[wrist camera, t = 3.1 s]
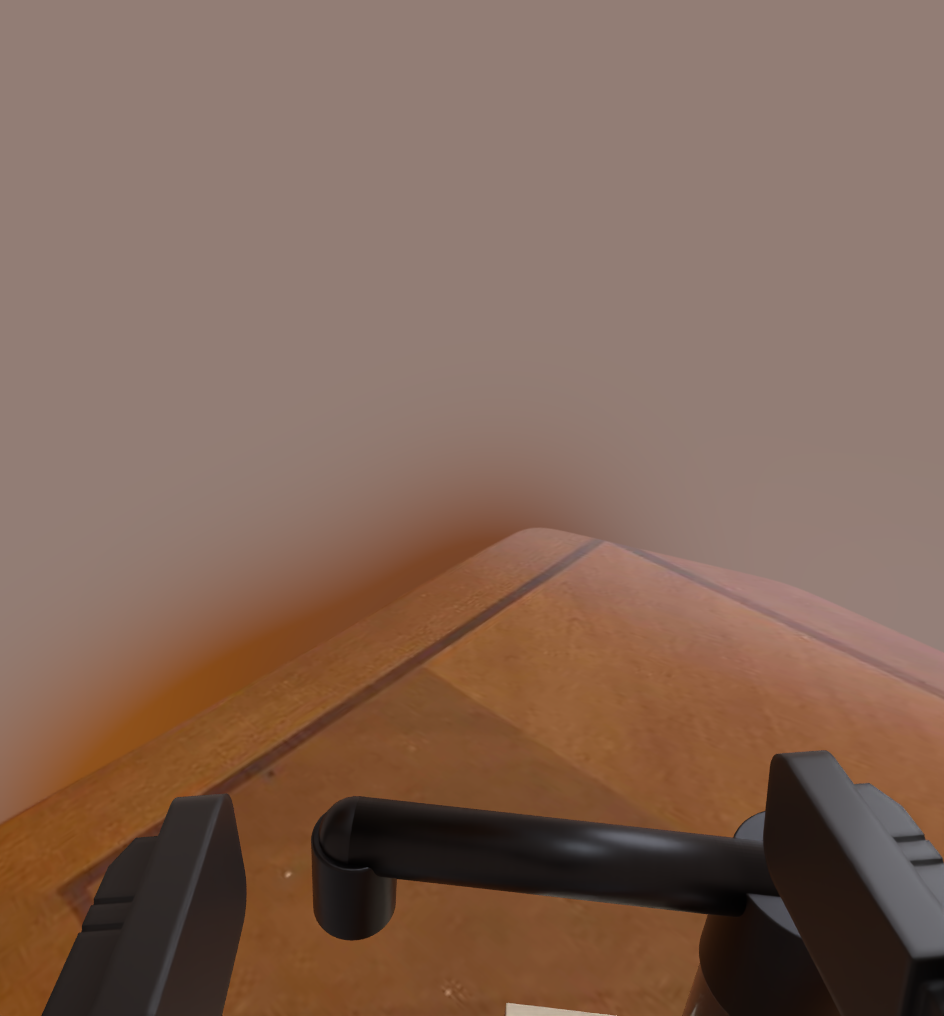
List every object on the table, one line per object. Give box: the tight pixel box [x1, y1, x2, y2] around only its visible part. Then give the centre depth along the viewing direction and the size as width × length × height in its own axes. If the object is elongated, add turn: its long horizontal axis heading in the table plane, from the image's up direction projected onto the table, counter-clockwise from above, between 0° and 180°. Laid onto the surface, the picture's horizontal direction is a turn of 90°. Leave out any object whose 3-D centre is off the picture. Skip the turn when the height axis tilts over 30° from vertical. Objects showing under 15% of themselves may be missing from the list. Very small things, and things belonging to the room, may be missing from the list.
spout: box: [311, 796, 841, 1016], centre depth 24 cm, size 16×4×5 cm, turn 86°
